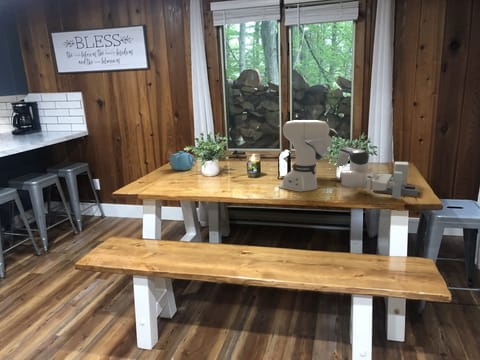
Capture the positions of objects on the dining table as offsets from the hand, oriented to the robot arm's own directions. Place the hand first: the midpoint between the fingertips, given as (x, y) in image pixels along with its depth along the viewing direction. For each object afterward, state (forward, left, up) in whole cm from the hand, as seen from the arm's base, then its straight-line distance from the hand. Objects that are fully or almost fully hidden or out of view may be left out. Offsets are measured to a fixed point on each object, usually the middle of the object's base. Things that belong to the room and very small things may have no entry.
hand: (399, 183), depth 195 cm
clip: (-1, 0, -7) cm, 8 cm away
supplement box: (-3, +30, -9) cm, 32 cm away
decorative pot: (-149, +15, -9) cm, 150 cm away
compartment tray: (-3, +14, -9) cm, 17 cm away
